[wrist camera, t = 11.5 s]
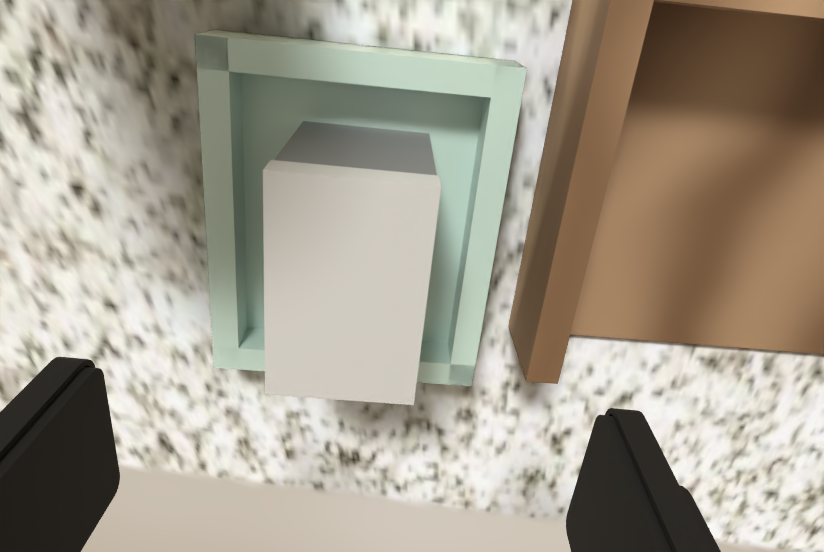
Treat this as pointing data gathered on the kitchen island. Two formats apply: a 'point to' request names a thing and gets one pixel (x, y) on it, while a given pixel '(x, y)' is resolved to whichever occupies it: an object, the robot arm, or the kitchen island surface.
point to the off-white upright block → (348, 262)
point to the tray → (366, 107)
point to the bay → (679, 181)
